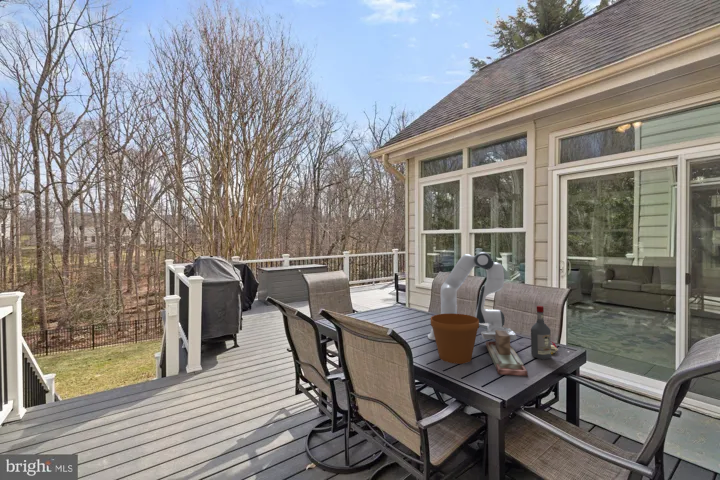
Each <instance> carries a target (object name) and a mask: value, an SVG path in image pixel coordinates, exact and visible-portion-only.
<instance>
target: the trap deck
mask: <svg viewBox="0 0 720 480" xmlns="http://www.w3.org/2000/svg"><path fill="white" fill-rule="evenodd" d="M485 346H486V348H487V351H488V353H489V356H490V357H491V360H492V363H493V364H494V367H495V369H496V371H497V374H498V375H503V376H504V375H505V376H520V377H528V370H527V368H526V367H525V366H524V363H523V362H522V360H521V358H520V357H519V355H518V354H517V352H516V351H515V349H514V348H513V346H511V345H510V355H499V353H498V351H497V349H496V341H492V340H491V341H490V340H489V341H487V340H486V341H485Z"/></svg>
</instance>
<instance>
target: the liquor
mask: <svg viewBox="0 0 720 480" xmlns="http://www.w3.org/2000/svg"><path fill="white" fill-rule="evenodd" d="M544 308H545V307H544V306H543V305H536V322H535V323H534V324H533V325H532V326H531V329H530V348H531V350H530V351H531V353H530V354H531V356H532V357H534V358H536V359H538V360H548V359H551V357H552V354H551V345H552V344H551V343H552V340H551V339H552V337H551V336H552V335H551V333H552V332H551V331H552V330H551V328H550V327H549V326H548V325H547V324H546V323H545V320H544Z"/></svg>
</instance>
